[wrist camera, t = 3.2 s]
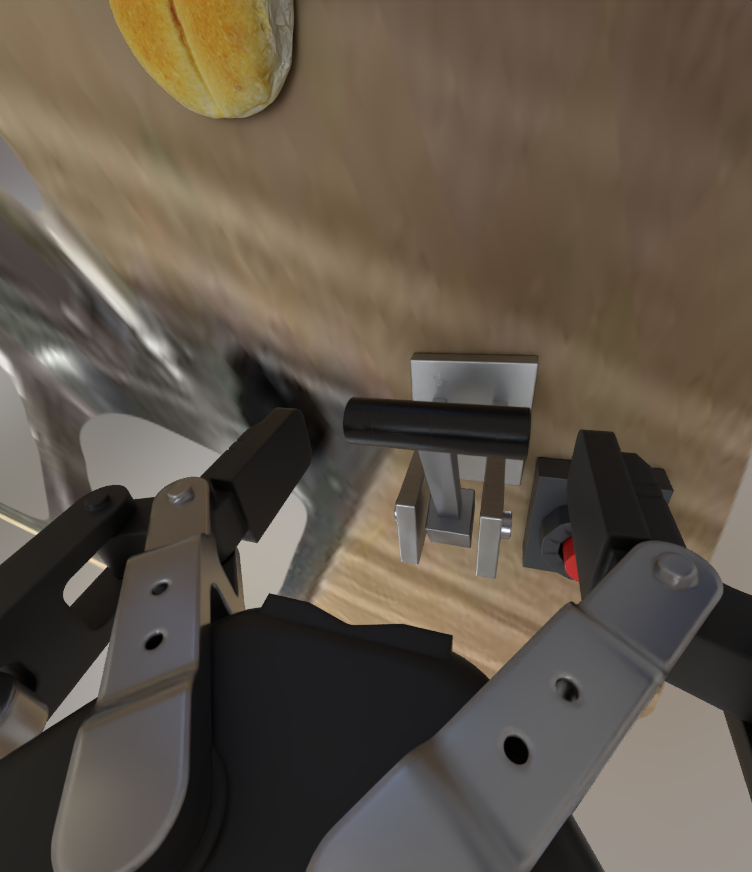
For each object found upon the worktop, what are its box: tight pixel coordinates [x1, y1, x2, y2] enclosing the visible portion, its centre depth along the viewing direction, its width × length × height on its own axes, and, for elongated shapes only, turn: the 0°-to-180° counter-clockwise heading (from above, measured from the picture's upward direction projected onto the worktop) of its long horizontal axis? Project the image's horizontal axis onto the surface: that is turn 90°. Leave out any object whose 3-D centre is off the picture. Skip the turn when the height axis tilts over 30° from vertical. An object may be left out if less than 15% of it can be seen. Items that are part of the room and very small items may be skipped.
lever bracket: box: [394, 353, 538, 579], centre depth 24 cm, size 10×8×12 cm
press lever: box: [343, 397, 531, 548], centre depth 17 cm, size 12×6×2 cm, turn 4°
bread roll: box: [109, 0, 294, 118], centre depth 18 cm, size 8×9×4 cm
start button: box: [563, 536, 579, 582], centre depth 27 cm, size 4×4×2 cm
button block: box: [523, 458, 674, 580], centre depth 29 cm, size 10×8×4 cm
